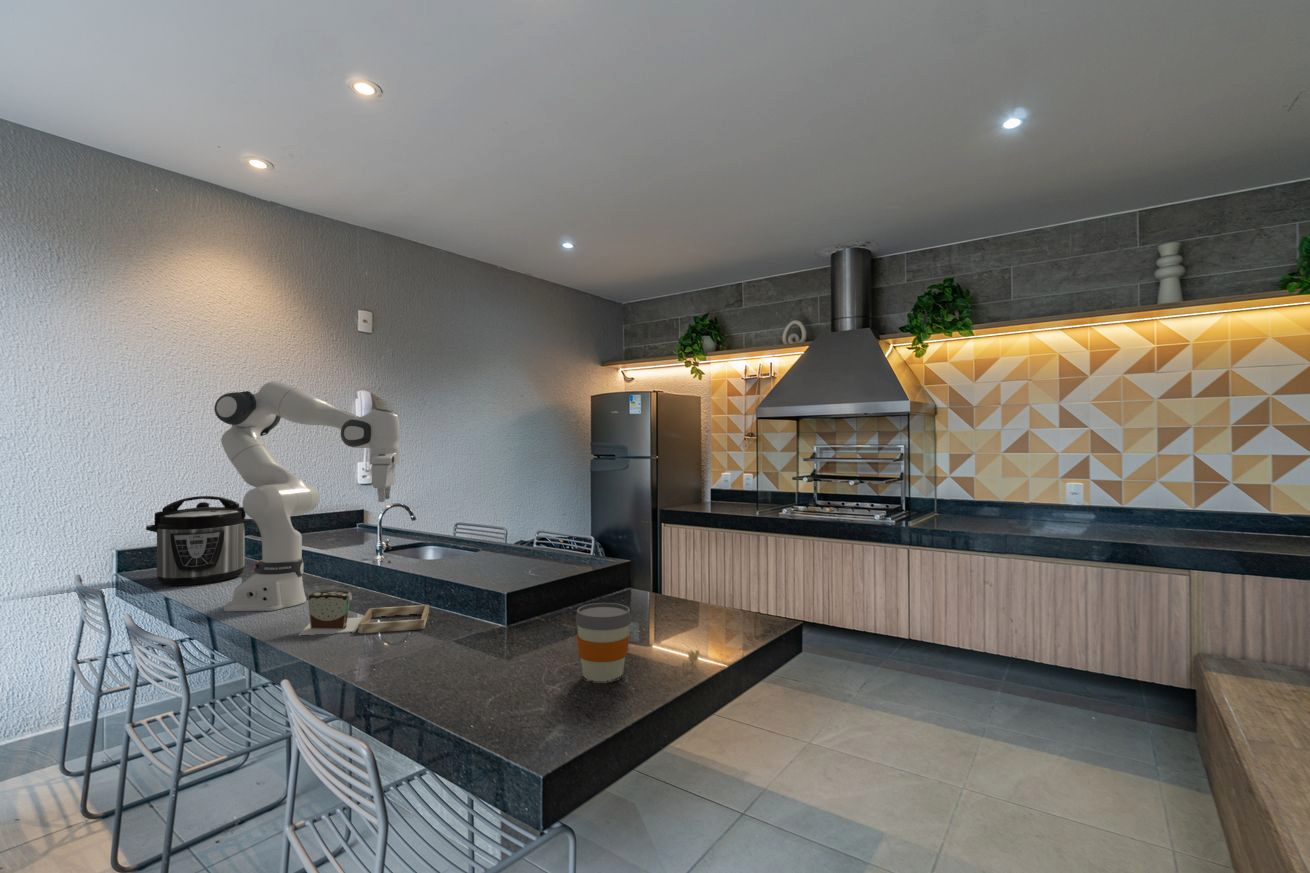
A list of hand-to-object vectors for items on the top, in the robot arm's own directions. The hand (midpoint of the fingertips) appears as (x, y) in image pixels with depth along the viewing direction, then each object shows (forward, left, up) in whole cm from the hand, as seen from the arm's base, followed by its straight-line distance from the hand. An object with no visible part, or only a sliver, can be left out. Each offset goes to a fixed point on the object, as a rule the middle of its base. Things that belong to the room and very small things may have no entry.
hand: (384, 500), depth 198 cm
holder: (+7, -23, -34) cm, 41 cm away
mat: (-10, -23, -34) cm, 42 cm away
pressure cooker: (-72, +56, -34) cm, 97 cm away
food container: (-9, -24, -34) cm, 42 cm away
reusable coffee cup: (+57, -79, -34) cm, 103 cm away
